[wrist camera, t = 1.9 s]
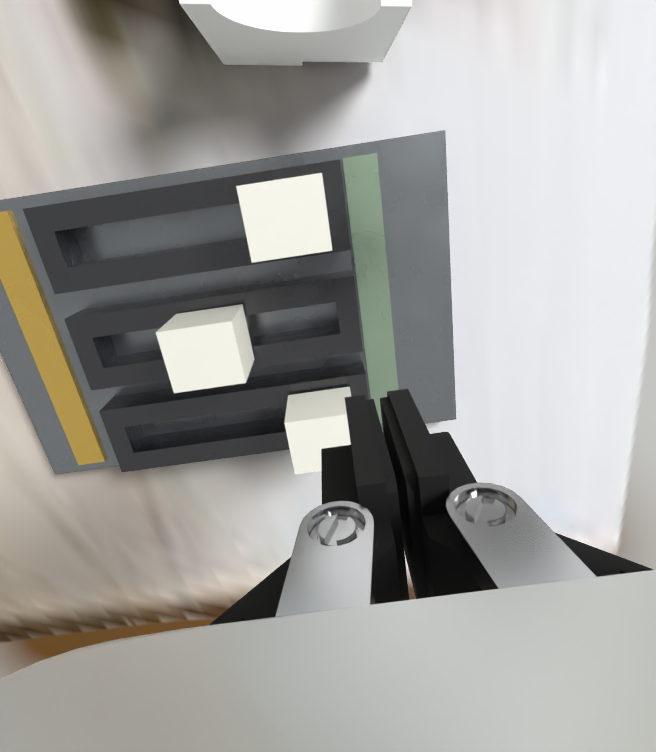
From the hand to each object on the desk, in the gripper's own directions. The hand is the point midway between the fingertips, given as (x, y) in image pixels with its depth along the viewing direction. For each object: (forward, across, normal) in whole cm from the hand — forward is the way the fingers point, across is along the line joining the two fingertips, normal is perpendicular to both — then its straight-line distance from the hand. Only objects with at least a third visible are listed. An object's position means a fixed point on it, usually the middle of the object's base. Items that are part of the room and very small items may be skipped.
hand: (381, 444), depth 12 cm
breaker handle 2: (+13, +2, +4) cm, 14 cm away
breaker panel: (+14, +7, -1) cm, 16 cm away
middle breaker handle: (+13, +7, -1) cm, 14 cm away
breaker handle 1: (+13, +2, -6) cm, 14 cm away
